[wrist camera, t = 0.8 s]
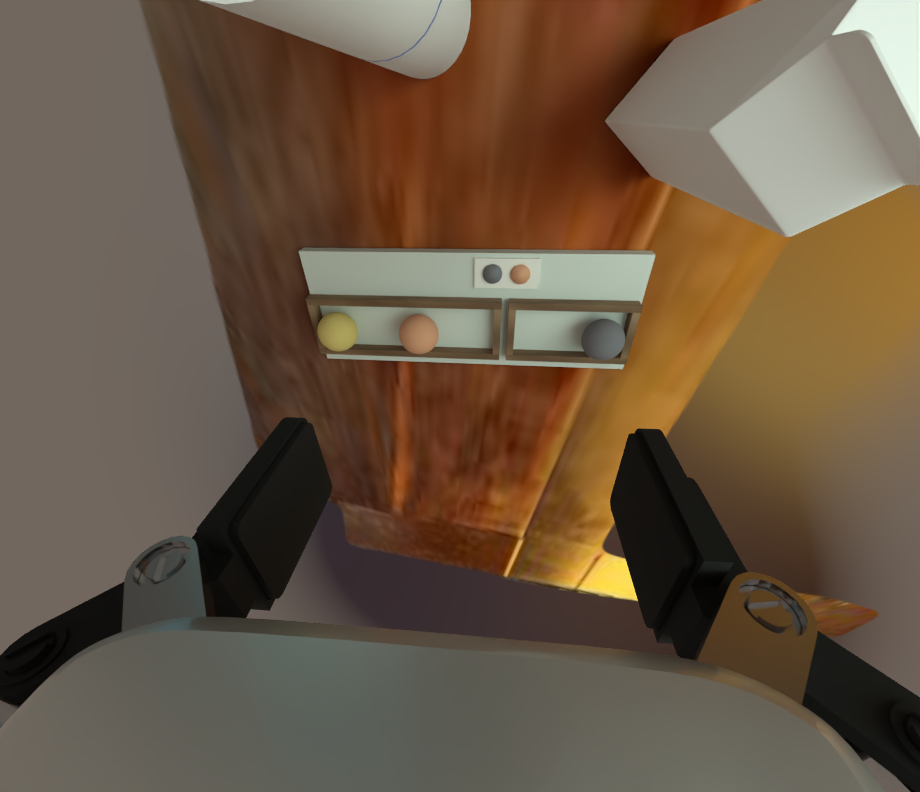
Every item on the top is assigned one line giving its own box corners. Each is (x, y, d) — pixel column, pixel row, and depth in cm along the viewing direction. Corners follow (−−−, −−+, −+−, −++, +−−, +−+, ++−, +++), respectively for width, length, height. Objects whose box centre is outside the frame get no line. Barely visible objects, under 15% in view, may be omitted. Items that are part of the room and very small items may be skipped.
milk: (674, 37, 26) (1033, -132, 8) (723, 106, 28) (1100, 89, 10) (601, 122, 29) (751, 131, 11) (650, 179, 31) (842, 263, 13)
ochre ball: (322, 305, 39) (306, 322, 36) (359, 306, 39) (346, 323, 36) (330, 339, 42) (316, 357, 39) (365, 340, 41) (354, 359, 38)
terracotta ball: (401, 307, 39) (392, 324, 35) (440, 308, 38) (434, 325, 35) (405, 341, 41) (397, 360, 38) (442, 342, 41) (436, 362, 37)
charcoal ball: (582, 311, 37) (589, 330, 34) (624, 312, 37) (635, 331, 33) (575, 347, 39) (581, 367, 36) (614, 348, 39) (624, 369, 36)
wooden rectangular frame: (509, 298, 37) (509, 303, 36) (639, 300, 36) (642, 306, 35) (505, 354, 41) (505, 360, 40) (622, 358, 40) (625, 364, 39)
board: (303, 247, 37) (296, 252, 36) (651, 250, 34) (657, 256, 33) (331, 352, 44) (325, 360, 43) (620, 363, 41) (624, 371, 40)
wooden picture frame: (310, 294, 39) (305, 298, 38) (502, 297, 37) (501, 303, 36) (324, 348, 43) (320, 353, 42) (499, 354, 41) (498, 360, 40)
